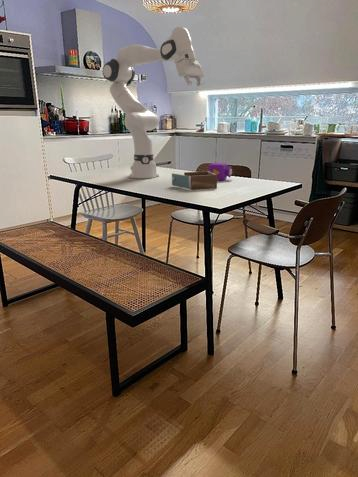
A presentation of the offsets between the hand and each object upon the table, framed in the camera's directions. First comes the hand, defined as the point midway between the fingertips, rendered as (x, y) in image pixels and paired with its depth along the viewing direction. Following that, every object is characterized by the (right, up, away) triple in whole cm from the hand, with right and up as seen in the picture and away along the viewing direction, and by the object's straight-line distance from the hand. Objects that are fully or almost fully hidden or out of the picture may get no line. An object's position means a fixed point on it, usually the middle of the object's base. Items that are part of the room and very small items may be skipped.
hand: (194, 85), depth 199 cm
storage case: (+3, -53, +4) cm, 54 cm away
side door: (-8, -54, 0) cm, 55 cm away
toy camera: (+17, -46, +25) cm, 55 cm away
